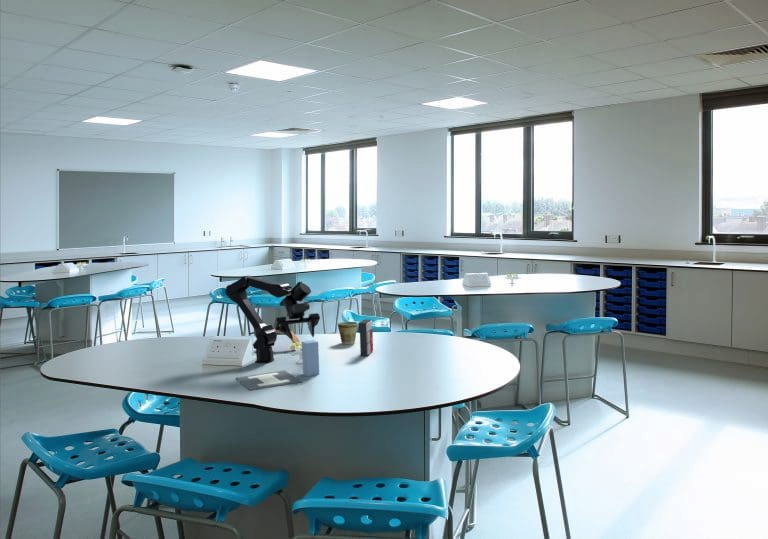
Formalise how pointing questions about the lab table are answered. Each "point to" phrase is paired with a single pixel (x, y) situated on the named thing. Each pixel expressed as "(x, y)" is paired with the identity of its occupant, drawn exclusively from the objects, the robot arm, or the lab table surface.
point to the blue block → (310, 357)
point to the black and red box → (366, 337)
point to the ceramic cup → (347, 332)
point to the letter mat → (268, 380)
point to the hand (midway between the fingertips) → (302, 337)
